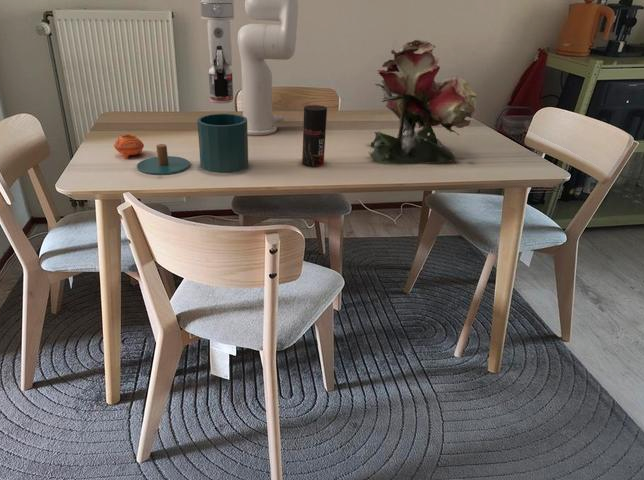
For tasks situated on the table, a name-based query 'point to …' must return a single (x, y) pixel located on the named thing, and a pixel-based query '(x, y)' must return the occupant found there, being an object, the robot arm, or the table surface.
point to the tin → (223, 142)
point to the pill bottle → (230, 86)
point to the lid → (163, 163)
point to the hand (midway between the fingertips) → (221, 92)
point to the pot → (128, 145)
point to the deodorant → (314, 135)
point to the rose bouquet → (420, 106)
